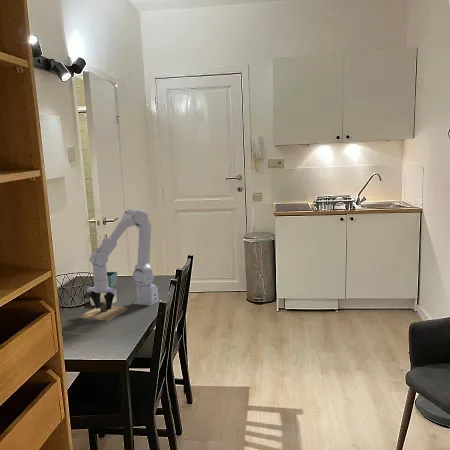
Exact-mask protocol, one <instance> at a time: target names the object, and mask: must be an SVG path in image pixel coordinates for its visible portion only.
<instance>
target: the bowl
mask: <svg viewBox="0 0 450 450" xmlns="http://www.w3.org/2000/svg"><path fill="white" fill-rule="evenodd" d="M106 294H107V293H101V294H100V302H104V301H105V298H104V295H106ZM116 302H118V299H117V293H116V294H115V296H114V298H113V301H112V304H114V303H116ZM89 303H90V305H91V306H94V307H96V306H95V304H94V302H93V300H92V298H91V297H90V296H89Z"/></svg>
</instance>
